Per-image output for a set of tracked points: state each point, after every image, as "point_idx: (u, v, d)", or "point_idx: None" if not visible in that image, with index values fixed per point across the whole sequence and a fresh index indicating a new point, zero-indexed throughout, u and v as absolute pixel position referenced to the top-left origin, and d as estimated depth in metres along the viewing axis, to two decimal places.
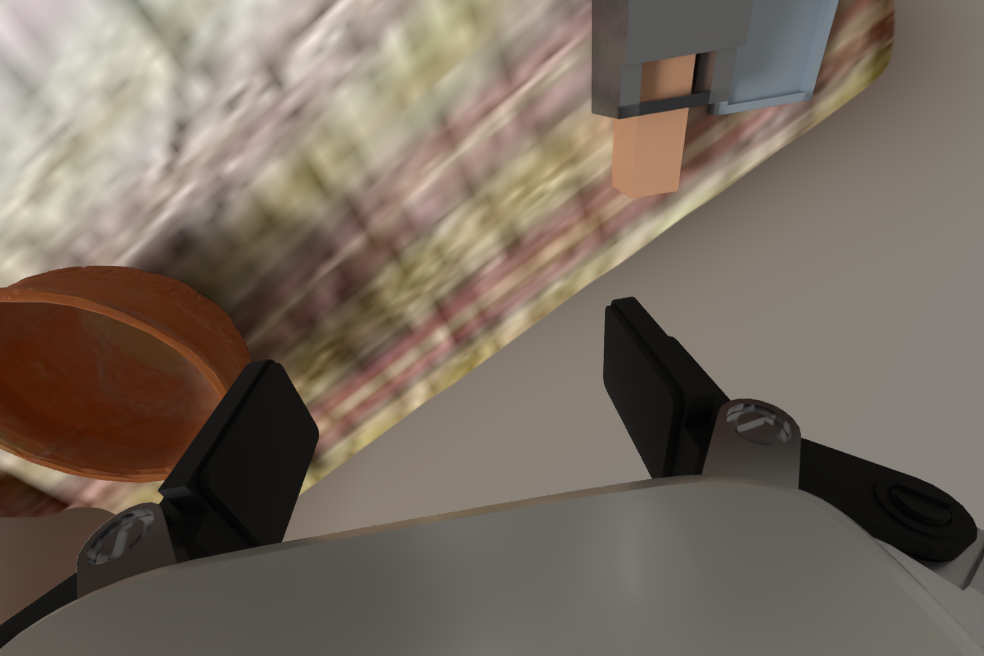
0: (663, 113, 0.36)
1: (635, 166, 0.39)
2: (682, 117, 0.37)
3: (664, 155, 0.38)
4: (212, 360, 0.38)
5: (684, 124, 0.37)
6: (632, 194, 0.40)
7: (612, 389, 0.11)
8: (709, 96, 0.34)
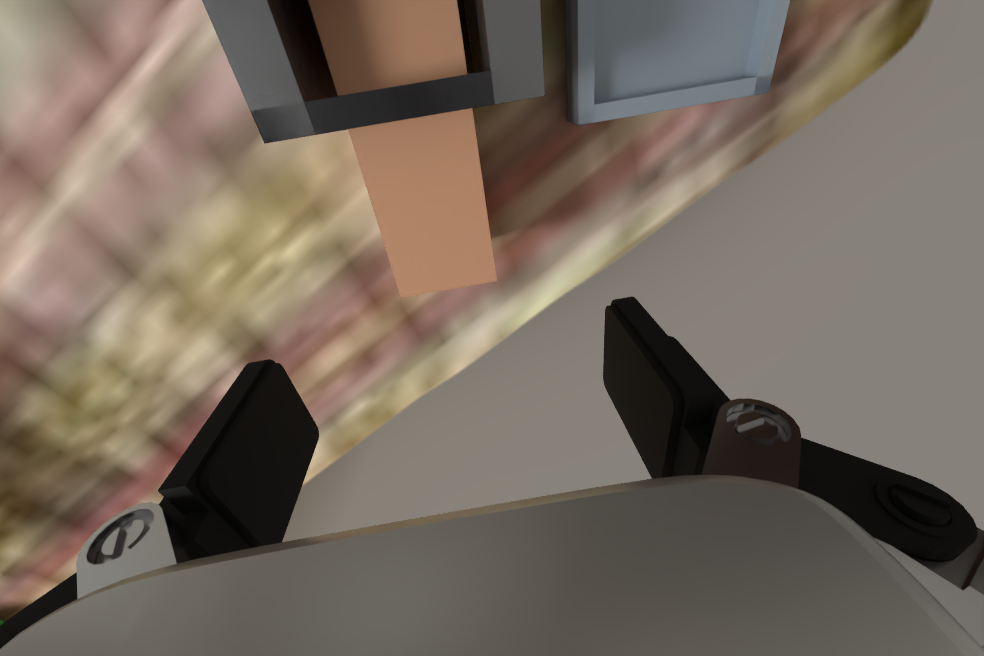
0: (413, 124, 0.15)
1: (384, 237, 0.18)
2: (464, 134, 0.16)
3: (445, 215, 0.17)
4: None
5: (473, 149, 0.16)
6: (400, 290, 0.19)
7: (612, 389, 0.11)
8: (490, 83, 0.13)
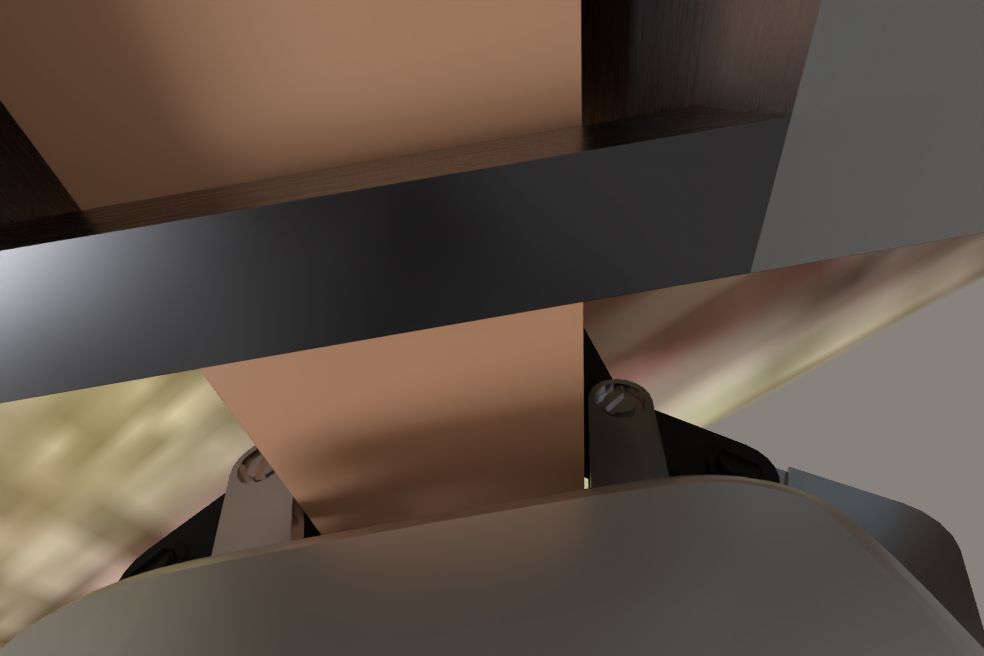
0: None
1: (318, 518, 0.07)
2: None
3: (474, 472, 0.07)
4: None
5: (568, 335, 0.05)
6: None
7: None
8: (765, 183, 0.02)
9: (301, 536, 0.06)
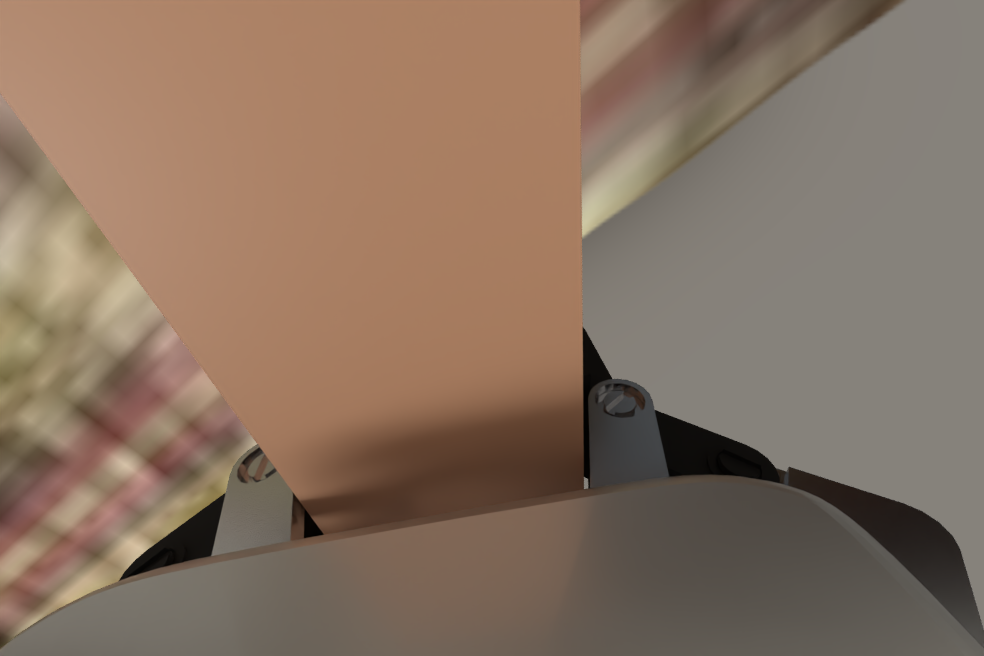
0: (380, 280, 0.05)
1: (319, 516, 0.07)
2: (547, 299, 0.05)
3: (474, 470, 0.07)
4: None
5: (567, 335, 0.05)
6: None
7: None
8: None
9: (301, 536, 0.06)
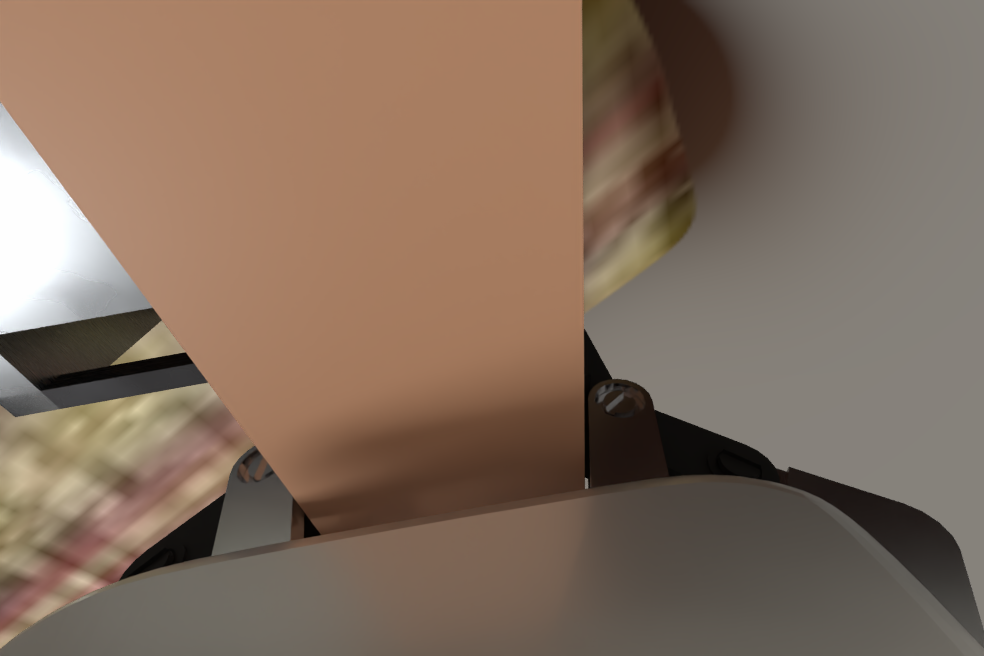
0: (380, 285, 0.04)
1: (319, 521, 0.07)
2: (548, 303, 0.05)
3: (475, 475, 0.07)
4: None
5: (569, 339, 0.05)
6: None
7: None
8: None
9: (301, 536, 0.06)
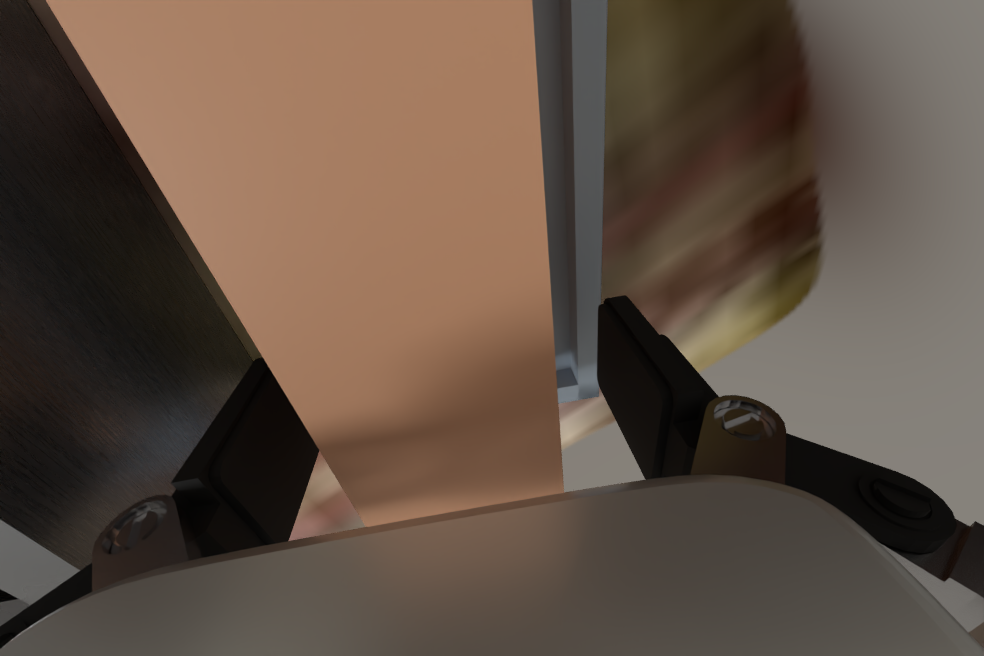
0: (386, 250, 0.06)
1: (333, 462, 0.08)
2: (520, 267, 0.06)
3: (466, 420, 0.08)
4: None
5: (539, 298, 0.06)
6: None
7: (605, 387, 0.11)
8: None
9: None
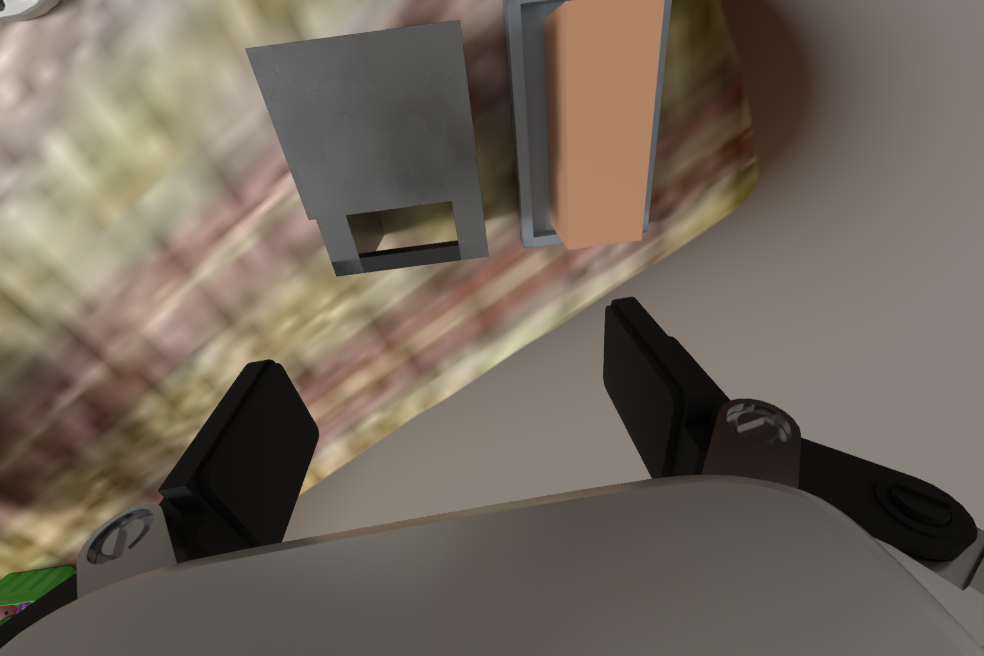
0: (611, 117, 0.22)
1: (569, 201, 0.24)
2: (644, 125, 0.22)
3: (616, 186, 0.24)
4: None
5: (648, 137, 0.22)
6: (569, 244, 0.26)
7: (612, 389, 0.11)
8: (458, 250, 0.24)
9: None
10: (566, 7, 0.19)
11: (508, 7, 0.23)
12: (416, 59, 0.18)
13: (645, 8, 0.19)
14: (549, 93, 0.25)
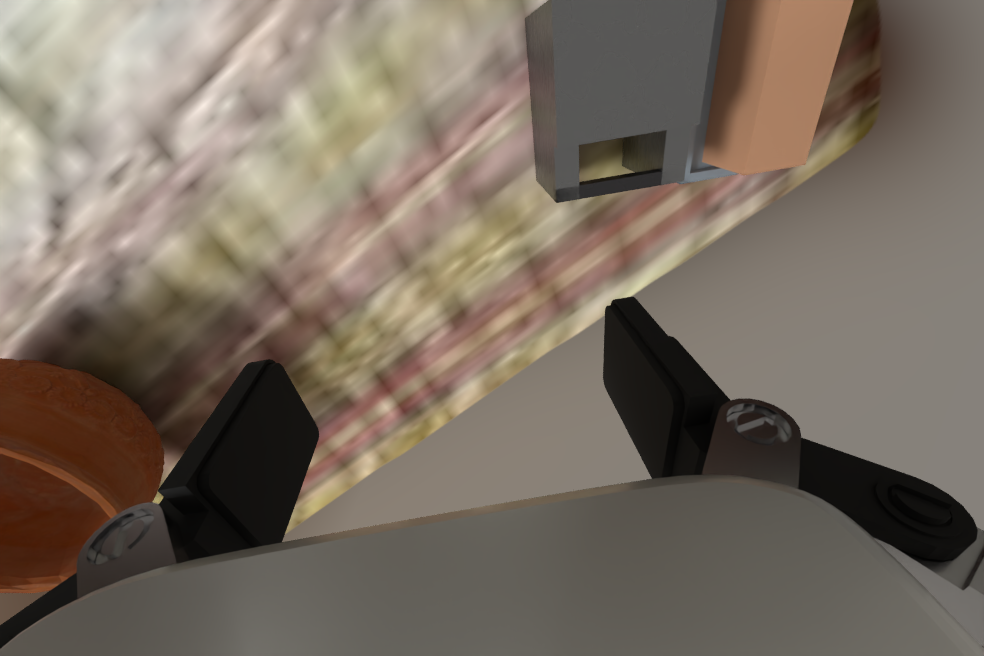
0: (805, 54, 0.26)
1: (755, 130, 0.29)
2: (829, 60, 0.27)
3: (795, 115, 0.28)
4: (95, 470, 0.33)
5: (830, 70, 0.27)
6: (745, 169, 0.30)
7: (612, 389, 0.11)
8: (661, 176, 0.29)
9: None
10: None
11: None
12: (680, 4, 0.23)
13: None
14: (729, 40, 0.30)
